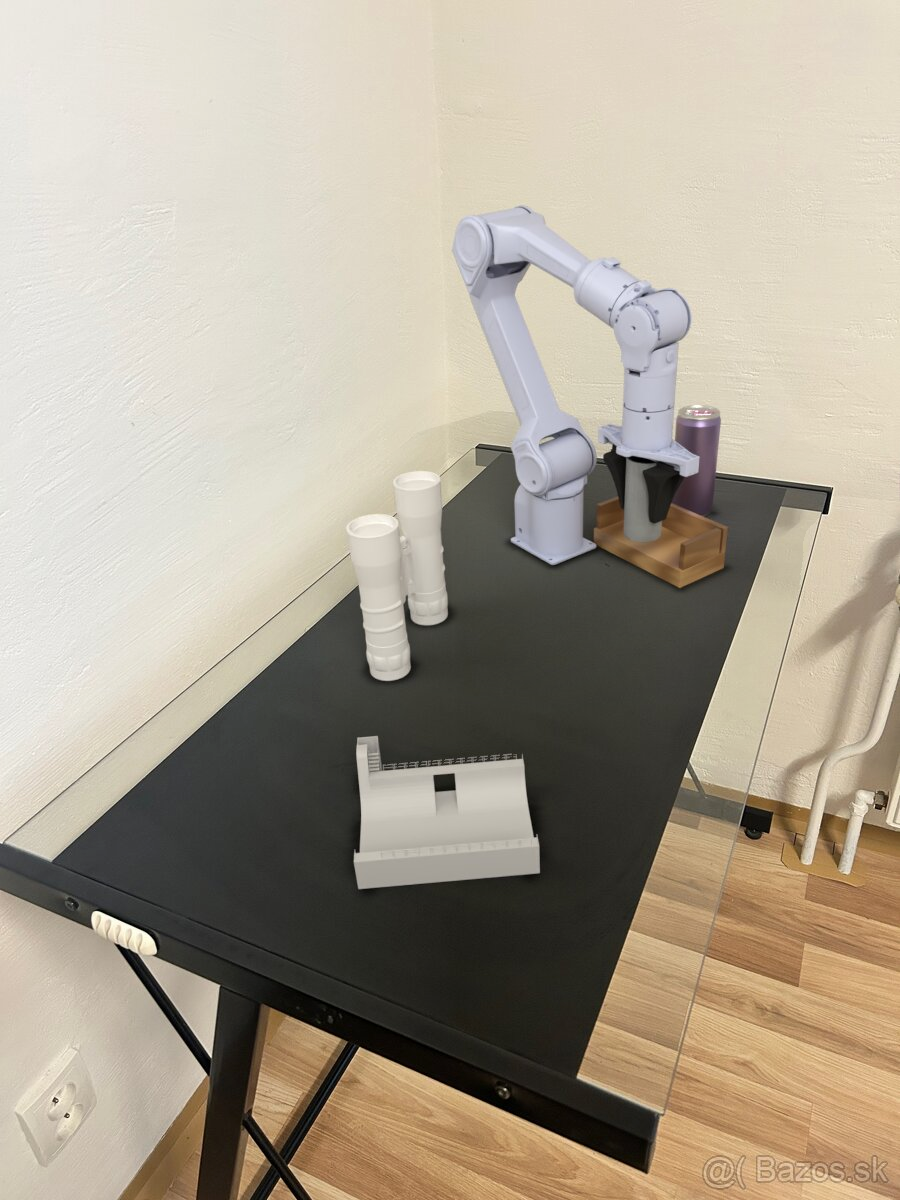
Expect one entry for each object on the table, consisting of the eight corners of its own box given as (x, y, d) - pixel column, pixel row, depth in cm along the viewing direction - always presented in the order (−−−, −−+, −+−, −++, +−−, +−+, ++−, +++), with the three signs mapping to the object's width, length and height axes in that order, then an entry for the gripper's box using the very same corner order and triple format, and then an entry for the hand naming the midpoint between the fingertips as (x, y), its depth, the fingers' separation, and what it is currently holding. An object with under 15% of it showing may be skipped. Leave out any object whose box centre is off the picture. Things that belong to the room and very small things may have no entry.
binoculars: (417, 601, 112) (404, 468, 102) (457, 606, 110) (447, 472, 100) (358, 678, 98) (336, 534, 89) (403, 686, 96) (385, 539, 87)
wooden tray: (593, 543, 122) (594, 504, 119) (635, 526, 125) (637, 488, 122) (679, 588, 110) (683, 546, 107) (723, 568, 114) (728, 527, 111)
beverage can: (713, 520, 125) (723, 419, 118) (670, 519, 127) (677, 418, 119) (711, 502, 130) (720, 404, 123) (669, 501, 132) (676, 404, 124)
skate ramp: (358, 889, 72) (350, 845, 70) (363, 779, 84) (357, 737, 81) (539, 873, 73) (538, 828, 70) (520, 765, 84) (519, 723, 81)
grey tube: (638, 546, 105) (642, 466, 100) (615, 532, 109) (618, 454, 104) (668, 536, 107) (674, 457, 102) (645, 523, 111) (649, 445, 105)
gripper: (579, 397, 103) (578, 503, 110) (669, 429, 92) (661, 544, 99) (624, 384, 106) (620, 487, 113) (716, 413, 96) (706, 526, 103)
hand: (642, 513), depth 107 cm, fingers closed on grey tube, 4 cm apart
